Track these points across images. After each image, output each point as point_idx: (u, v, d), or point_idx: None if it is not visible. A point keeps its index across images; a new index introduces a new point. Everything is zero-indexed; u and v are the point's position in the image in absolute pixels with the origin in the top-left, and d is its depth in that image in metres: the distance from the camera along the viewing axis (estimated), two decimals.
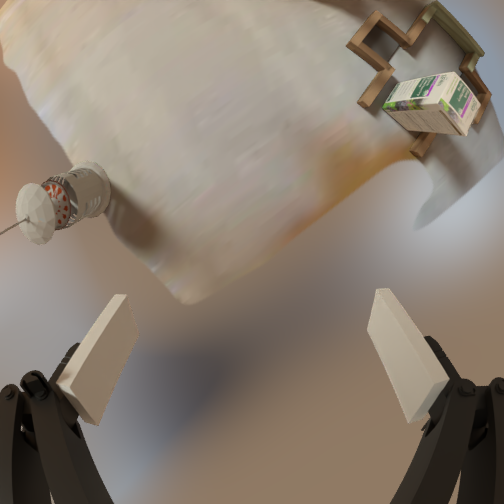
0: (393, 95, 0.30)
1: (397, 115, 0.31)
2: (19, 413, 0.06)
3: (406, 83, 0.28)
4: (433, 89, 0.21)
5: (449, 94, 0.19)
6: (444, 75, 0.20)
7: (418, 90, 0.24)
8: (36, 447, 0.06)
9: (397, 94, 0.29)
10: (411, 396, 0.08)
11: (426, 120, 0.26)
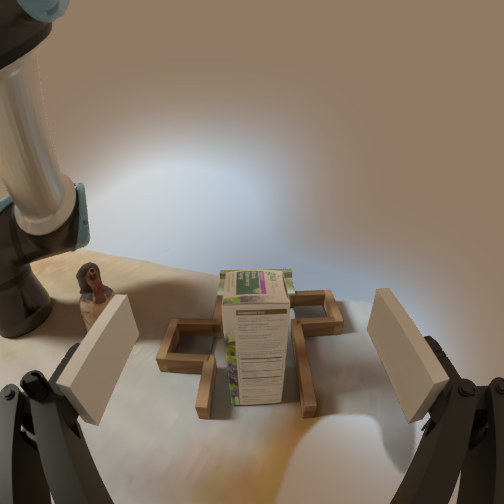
0: None
1: (246, 392, 0.26)
2: (19, 413, 0.06)
3: None
4: None
5: (232, 289, 0.24)
6: None
7: None
8: (36, 447, 0.06)
9: None
10: (411, 396, 0.08)
11: (258, 355, 0.24)
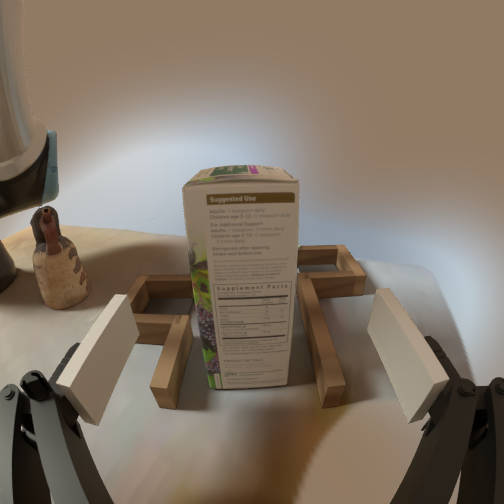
0: None
1: (231, 366, 0.17)
2: (19, 413, 0.06)
3: None
4: None
5: (204, 174, 0.14)
6: None
7: None
8: (36, 447, 0.06)
9: None
10: (411, 396, 0.08)
11: (248, 290, 0.15)
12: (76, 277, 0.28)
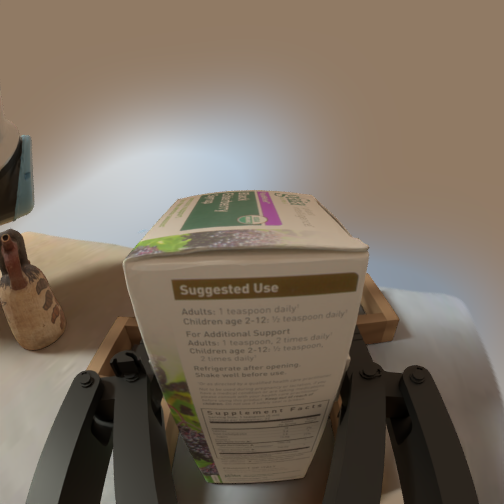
0: None
1: (233, 471, 0.10)
2: (94, 404, 0.07)
3: None
4: None
5: (175, 220, 0.07)
6: None
7: None
8: (103, 438, 0.07)
9: None
10: None
11: (258, 415, 0.08)
12: (47, 315, 0.21)
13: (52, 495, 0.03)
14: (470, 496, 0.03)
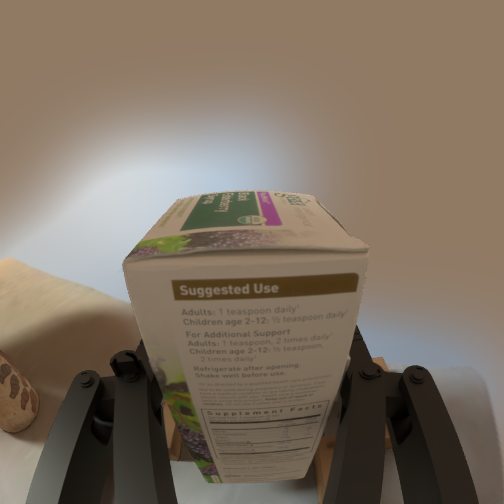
0: None
1: (233, 471, 0.10)
2: (94, 404, 0.07)
3: None
4: None
5: (175, 220, 0.07)
6: None
7: None
8: (103, 438, 0.07)
9: None
10: None
11: (258, 415, 0.08)
12: (16, 403, 0.14)
13: (52, 495, 0.03)
14: (470, 496, 0.03)
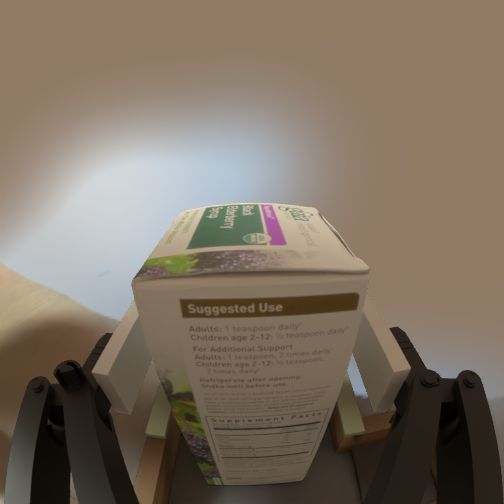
0: None
1: (235, 474, 0.10)
2: (47, 407, 0.07)
3: None
4: None
5: (181, 237, 0.08)
6: None
7: None
8: (61, 441, 0.07)
9: None
10: (375, 385, 0.09)
11: (260, 422, 0.08)
12: None
13: (24, 497, 0.03)
14: (497, 501, 0.02)
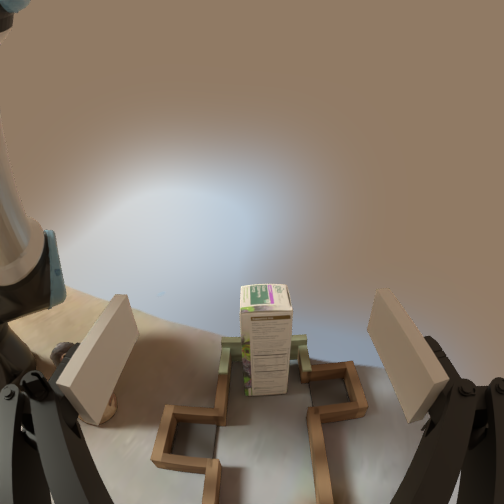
0: None
1: (257, 384, 0.32)
2: (19, 413, 0.06)
3: None
4: None
5: (247, 300, 0.30)
6: None
7: None
8: (36, 447, 0.06)
9: None
10: (411, 396, 0.08)
11: (268, 352, 0.30)
12: None
13: (7, 501, 0.02)
14: None
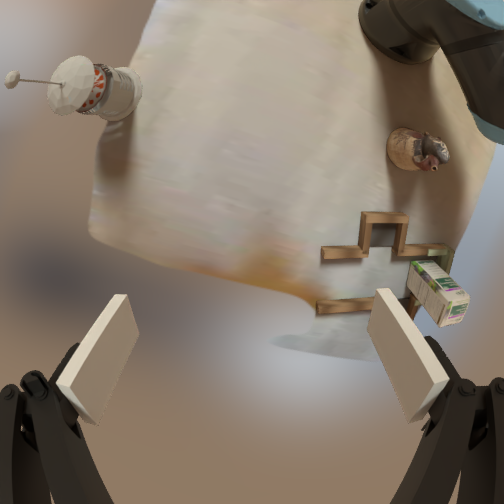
0: (424, 264, 0.45)
1: (415, 275, 0.46)
2: (19, 413, 0.06)
3: (438, 267, 0.44)
4: (452, 291, 0.36)
5: (456, 303, 0.35)
6: (463, 292, 0.36)
7: (443, 281, 0.39)
8: (36, 447, 0.06)
9: (428, 267, 0.44)
10: (411, 396, 0.08)
11: (428, 297, 0.41)
12: (407, 169, 0.38)
13: (7, 501, 0.02)
14: None
